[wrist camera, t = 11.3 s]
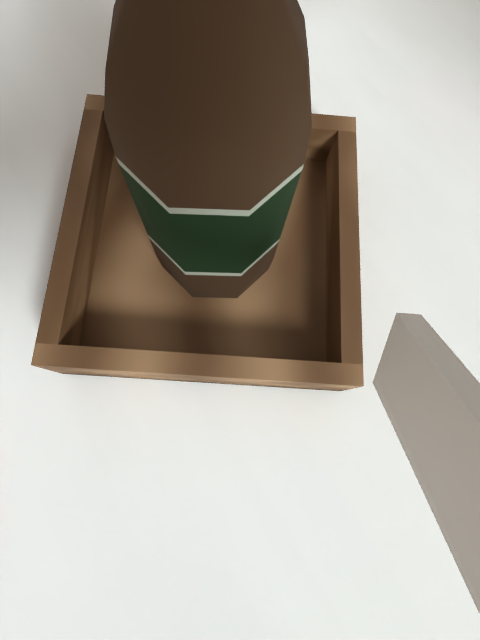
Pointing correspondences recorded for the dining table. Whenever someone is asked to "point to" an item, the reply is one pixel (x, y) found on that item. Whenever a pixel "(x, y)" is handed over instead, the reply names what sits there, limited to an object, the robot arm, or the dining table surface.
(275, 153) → the beer bottle
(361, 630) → the dining table surface
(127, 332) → the box
